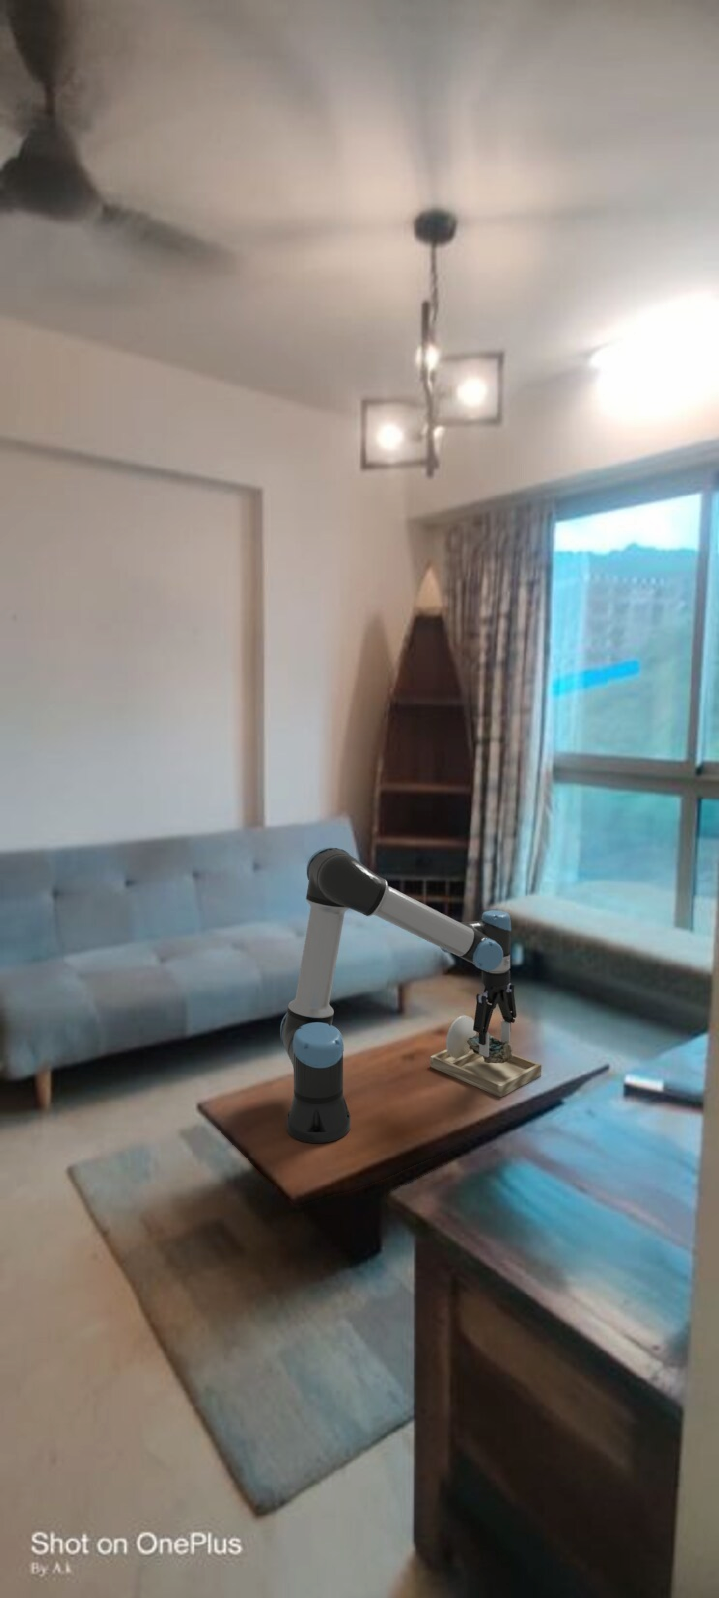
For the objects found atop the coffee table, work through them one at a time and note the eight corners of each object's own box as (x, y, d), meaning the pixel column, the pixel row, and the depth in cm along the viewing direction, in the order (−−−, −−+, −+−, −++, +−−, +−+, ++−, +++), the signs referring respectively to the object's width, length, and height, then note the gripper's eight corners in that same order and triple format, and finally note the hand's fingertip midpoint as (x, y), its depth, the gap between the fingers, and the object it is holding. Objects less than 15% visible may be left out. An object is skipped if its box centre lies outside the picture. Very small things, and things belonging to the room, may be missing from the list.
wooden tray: (500, 1097, 202) (501, 1086, 201) (430, 1066, 219) (430, 1056, 219) (541, 1075, 214) (541, 1064, 213) (471, 1047, 231) (471, 1037, 231)
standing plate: (448, 1064, 218) (449, 1022, 217) (445, 1063, 219) (446, 1021, 217) (475, 1051, 226) (476, 1011, 225) (473, 1050, 227) (473, 1010, 226)
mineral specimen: (462, 1051, 218) (468, 1028, 214) (485, 1040, 223) (492, 1018, 220) (493, 1081, 209) (500, 1058, 206) (516, 1069, 214) (524, 1047, 211)
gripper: (482, 982, 201) (481, 1066, 204) (531, 963, 215) (529, 1042, 218) (459, 974, 206) (458, 1057, 209) (508, 956, 221) (507, 1034, 223)
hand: (494, 1049), depth 213 cm, fingers closed on mineral specimen, 9 cm apart
